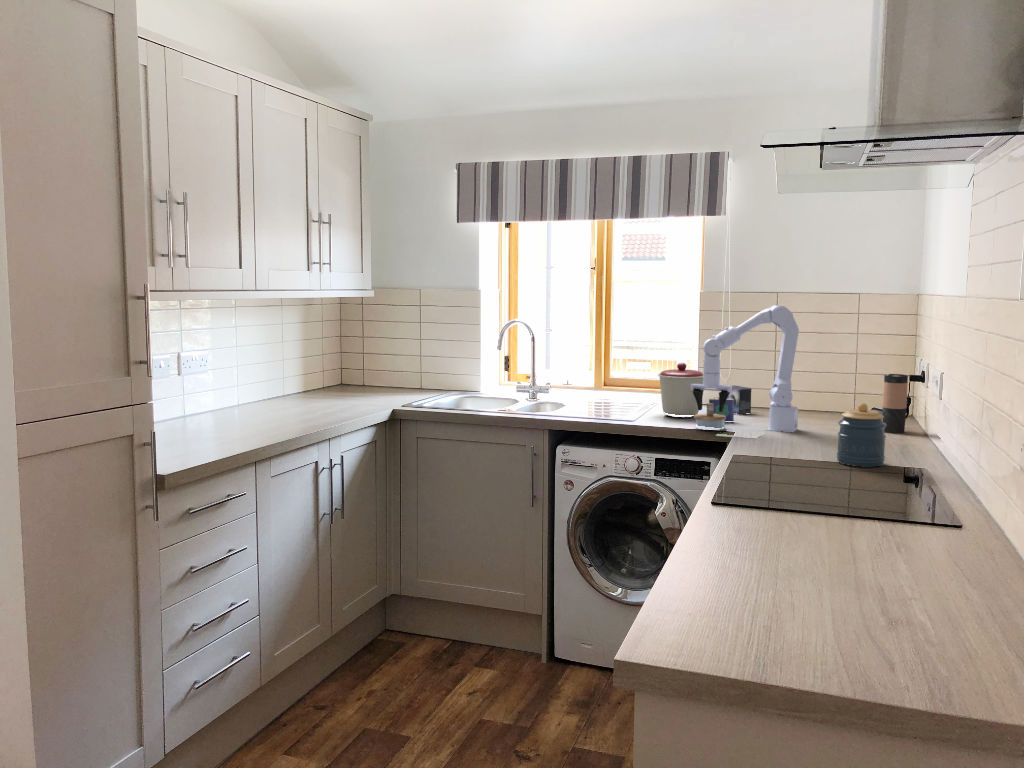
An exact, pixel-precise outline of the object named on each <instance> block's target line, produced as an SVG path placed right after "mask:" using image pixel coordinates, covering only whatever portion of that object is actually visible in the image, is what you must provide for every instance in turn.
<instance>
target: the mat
mask: <svg viewBox="0 0 1024 768" xmlns="http://www.w3.org/2000/svg"><path fill="white" fill-rule="evenodd" d="M715 436H716V437H717V436H718V437H727V438H734V437H733V435H727V434H719V433H717V434H715Z"/></svg>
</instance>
